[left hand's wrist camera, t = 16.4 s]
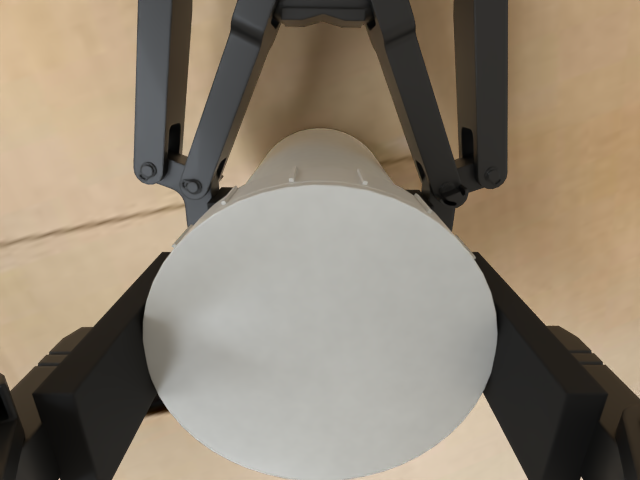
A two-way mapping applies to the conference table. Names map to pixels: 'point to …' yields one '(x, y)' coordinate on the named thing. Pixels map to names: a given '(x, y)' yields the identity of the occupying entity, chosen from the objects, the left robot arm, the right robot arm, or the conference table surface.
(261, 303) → the lid
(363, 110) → the conference table surface
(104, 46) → the conference table surface
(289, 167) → the jar
